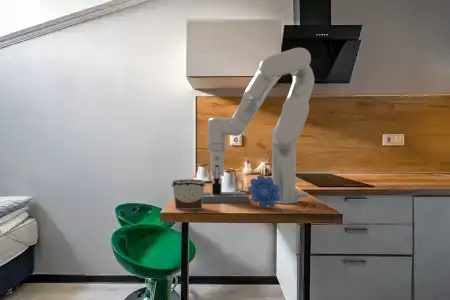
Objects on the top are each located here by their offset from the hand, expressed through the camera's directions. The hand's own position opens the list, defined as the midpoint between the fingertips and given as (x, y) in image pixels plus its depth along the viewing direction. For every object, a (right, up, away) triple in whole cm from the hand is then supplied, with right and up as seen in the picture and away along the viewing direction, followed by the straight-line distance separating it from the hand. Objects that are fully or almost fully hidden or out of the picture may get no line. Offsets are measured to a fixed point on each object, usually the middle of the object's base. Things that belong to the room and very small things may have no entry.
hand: (216, 192), depth 145 cm
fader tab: (0, -1, 0) cm, 1 cm away
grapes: (+18, -4, -16) cm, 24 cm away
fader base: (+3, -3, 0) cm, 4 cm away
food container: (-9, -4, -15) cm, 18 cm away
